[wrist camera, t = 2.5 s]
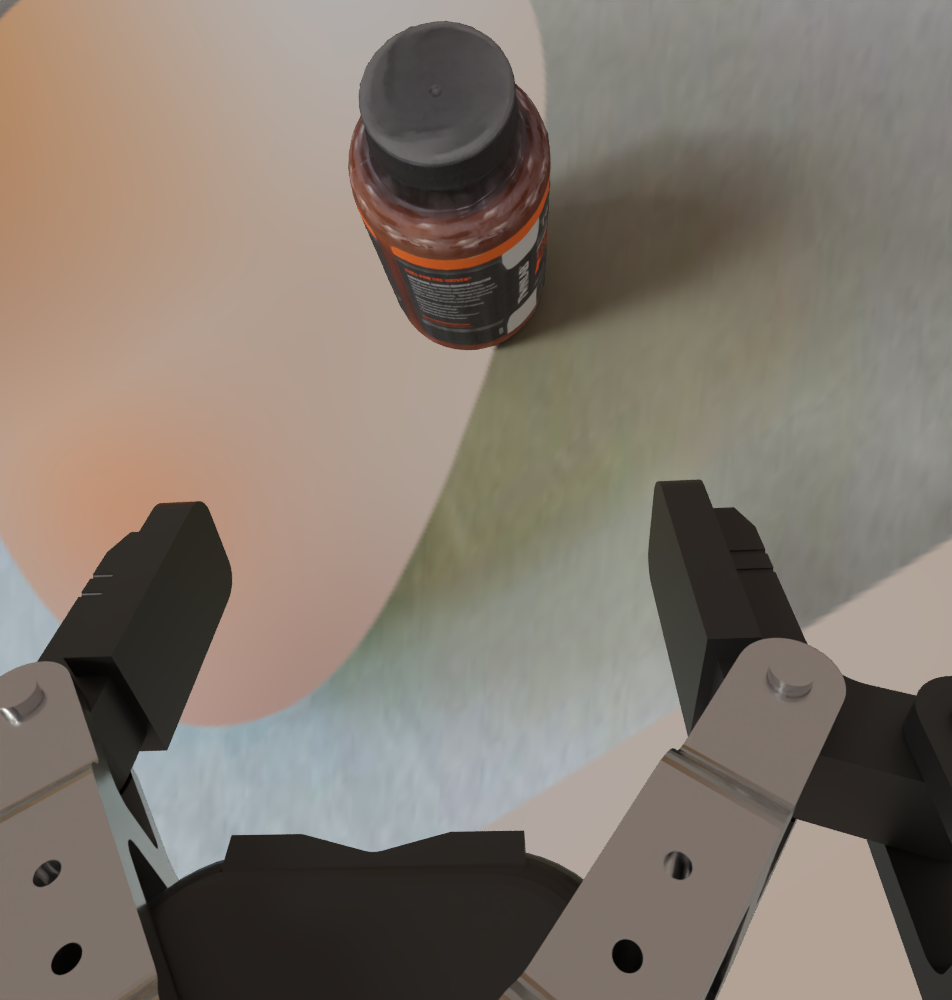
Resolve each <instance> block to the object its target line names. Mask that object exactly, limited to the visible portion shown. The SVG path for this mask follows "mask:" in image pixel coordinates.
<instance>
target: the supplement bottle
mask: <svg viewBox="0 0 952 1000" xmlns="http://www.w3.org/2000/svg"><path fill="white" fill-rule="evenodd" d="M359 108H360V113H361V116H360V119H359V121H358V123H357V125H356V127H355V130H354V133H353V136H352V140H351V145H350V150H349V166H348V167H349V177H350V182H351V186H352V191H353V196H354V199H355V202H356V205H357V207H358V210H359V212H360V214H361V216H362V219H363V222H364V224H365V227H366V229H367V231H368V233H369V236H370V238H371V240H372V242H373V245H374V247H375V249H376V251H377V254H378V256H379V258H380V261H381V263H382V265H383V268H384V270H385V273H386V274H387V277H388V280H389V282H390V284H391V286H392V288H393V290H394V293H395V295H396V297H397V299H398V302H399V304H400V306H401V308H402V309H403V311H404V312H405V314H406V316H407V317H408V319H409V321H410V322H411V323H412V324H413V325H414V326H415V328H416V329H417V330H418V331H419V332H421V333H422V334H423V335H424V336H426V337H427V338H428V339H430V340H432V341H433V342H435V343H437V344H440V345H443V346H445V347H449V348H453V349H460V350H477V349H482V348H487V347H491V346H495V345H497V344H499V343H501V342H503V341H505V340H507V339H508V338H510V337H511V336H512V335H514V334H516V333H517V332H518V331H519V330H520V329H521V328H522V327H523V326H524V325H525V324H526V323H527V322H528V320H529V319H530V317H531V316H532V315H533V313H534V311H535V309H536V307H537V305H538V303H539V300H540V297H541V293H542V288H543V285H544V278H545V260H546V243H547V225H548V210H549V189H550V147H549V140H548V133H547V131H546V128H545V126H544V123H543V121H542V119H541V117H540V114H539V112H538V111H537V109H536V107H535V105H534V104H533V102H532V101H531V99H530V98H529V97H528V96H527V94H526V93H525V92H524V91H523V90H522V89H521V88H519V87H518V86H517V85H516V84H515V81H514V75H513V72H512V68H511V66H510V63H509V61H508V60H507V58H506V56H505V54H504V53H503V51H502V50H501V48H500V47H499V46H498V45H497V44H496V43H495V42H494V41H493V40H492V39H491V38H489V37H488V36H487V35H485V34H483V33H482V32H480V31H478V30H476V29H475V28H473V27H470V26H467V25H464V24H460V23H454V22H448V21H443V22H442V21H441V22H431V23H426V24H421V25H418V26H415V27H409V28H408V29H406V30H405V31H402V32H400V33H398V34H396V35H395V36H393V37H392V38H390V39H389V40H387V42H386V43H385V44H384V45H383V46H382V47H381V48H380V49H379V50H378V51H377V52H376V53H375V54H374V56H373V57H372V59H371V60H370V62H369V63H368V65H367V67H366V69H365V72H364V75H363V78H362V80H361V83H360V90H359Z"/></svg>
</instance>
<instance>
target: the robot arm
mask: <svg viewBox="0 0 952 1000" xmlns="http://www.w3.org/2000/svg"><path fill="white" fill-rule="evenodd" d="M648 561H649V573H650V580H651V585H652V589H653V593H654V597H655V602H656V606H657V610H658V614H659V618H660V622H661V626H662V631H663V635H664V639H665V643H666V647H667V651H668V655H669V660H670V664H671V668H672V672H673V676H674V680H675V684H676V689H677V693H678V697H679V701H680V705H681V709H682V713H683V717H684V722H685V725H686V730H687V734H688V738H687V740H686V741H685V743H684V744H683V745H682V747H681V748H680V749H679V750H676V749H673V748H672V749H670V750H669V751H668V752H667V753H666V754H665V755H664V757H663V758H662V759H661V760H660V762H659V764H658V765H657V766H656V768H655V770H654V771H653V773H652V774H651V776H650V777H649V779H648V780H647V782H646V784H645V785H644V787H643V788H642V790H641V791H640V793H639V794H638V796H637V798H636V799H635V801H634V802H633V804H632V805H631V807H630V809H629V810H628V812H627V813H626V815H625V816H624V818H623V819H622V821H621V823H620V824H619V826H618V827H617V829H616V830H615V832H614V834H613V835H612V837H611V838H610V840H609V842H608V843H607V844H606V846H605V847H604V849H603V851H602V852H601V854H600V855H599V857H598V858H597V860H596V861H595V863H594V864H593V866H592V868H591V869H590V871H589V872H588V874H587V875H586V877H585V878H584V880H583V879H582V878H581V877H579V876H578V875H577V874H575V873H574V872H572V871H570V870H568V869H567V868H565V867H563V866H561V865H560V864H558V863H555V862H553V861H550V860H548V859H545V858H543V857H540V856H536V855H533V854H529V853H526V852H525V838H524V831H476V832H449V833H445V834H441V835H438V836H434V837H431V838H427V839H423V840H420V841H416V842H412V843H409V844H405V845H402V846H398V847H394V848H391V849H387V850H383V851H379V852H367V851H363V850H359V849H355V848H352V847H348V846H344V845H340V844H337V843H333V842H329V841H326V840H322V839H318V838H314V837H311V836H307V835H303V834H285V835H232V836H231V840H230V843H229V846H228V850H227V853H226V856H225V860H222V861H218V862H216V863H213V864H211V865H208V866H206V867H203V868H201V869H199V870H197V871H195V872H193V873H191V874H189V875H187V876H185V877H184V878H182V879H180V880H179V879H178V878H177V876H176V874H175V872H174V870H173V868H172V866H171V863H170V861H169V859H168V856H167V854H166V851H165V848H164V846H163V843H162V840H161V838H160V835H159V832H158V830H157V827H156V824H155V822H154V819H153V816H152V814H151V811H150V808H149V806H148V803H147V800H146V798H145V795H144V792H143V790H142V787H141V784H140V782H139V779H138V777H137V775H136V773H135V771H134V770H133V768H132V767H133V764H134V762H135V760H136V758H137V755H138V753H139V751H160V750H167V749H168V747H169V744H170V742H171V739H172V737H173V735H174V732H175V730H176V727H177V725H178V722H179V720H180V717H181V715H182V712H183V710H184V707H185V705H186V703H187V700H188V698H189V695H190V693H191V690H192V688H193V685H194V683H195V681H196V678H197V675H198V673H199V671H200V668H201V666H202V663H203V661H204V658H205V655H206V653H207V651H208V649H209V646H210V644H211V641H212V639H213V636H214V634H215V631H216V629H217V627H218V624H219V622H220V619H221V617H222V614H223V612H224V609H225V607H226V604H227V602H228V599H229V597H230V593H231V588H232V572H231V567H230V563H229V560H228V557H227V555H226V552H225V550H224V547H223V545H222V542H221V539H220V537H219V534H218V532H217V529H216V527H215V524H214V522H213V519H212V516H211V514H210V511H209V509H208V507H207V506H206V505H205V504H204V503H203V502H200V501H197V502H176V503H159V504H157V505H156V506H155V507H154V508H153V510H152V512H151V513H150V515H149V517H148V518H147V520H146V522H145V523H144V525H143V526H142V528H141V530H140V531H139V532H131V533H129V534H128V535H127V536H126V537H125V538H123V539H122V540H121V541H120V542H119V543H118V544H117V545H115V546H114V547H113V548H112V549H111V550H109V551H108V552H107V553H106V555H105V556H104V558H103V559H102V561H101V563H100V564H99V566H98V567H97V569H96V570H95V572H94V574H93V579H90V580H89V582H88V583H87V585H86V586H85V588H84V589H83V591H82V597H78V599H77V600H76V602H75V603H74V605H73V607H72V608H71V610H70V611H69V613H68V614H67V616H66V618H65V619H64V621H63V622H62V624H61V625H60V627H59V628H58V630H57V632H56V633H55V635H54V636H53V638H52V639H51V641H50V643H49V644H48V646H47V647H46V649H45V650H44V652H43V654H42V655H41V657H40V658H39V660H38V661H37V662H35V663H30V664H26V665H23V666H20V667H18V668H15V669H13V670H11V671H9V672H7V673H5V674H4V675H2V676H1V677H0V1000H716V999H717V997H718V995H719V993H720V990H721V988H722V986H723V984H724V982H725V980H726V977H727V975H728V973H729V971H730V968H731V966H732V964H733V962H734V960H735V957H736V955H737V953H738V950H739V948H740V946H741V943H742V941H743V939H744V936H745V934H746V932H747V929H748V927H749V924H750V922H751V920H752V917H753V915H754V913H755V911H756V909H757V907H758V904H759V902H760V900H761V898H762V895H763V893H764V891H765V889H766V887H767V885H768V882H769V880H770V878H771V876H772V874H773V872H774V869H775V867H776V865H777V863H778V861H779V858H780V856H781V854H782V852H783V849H784V848H785V845H786V843H787V841H788V839H789V837H790V834H791V832H792V830H793V828H794V826H795V824H796V821H797V819H799V820H802V821H806V822H809V823H813V824H816V825H819V826H823V827H827V828H830V829H833V830H837V831H840V832H843V833H847V834H851V835H854V836H858V837H861V838H864V839H867V842H868V845H869V847H870V850H871V853H872V856H873V859H874V862H875V865H876V868H877V870H878V873H879V876H880V879H881V882H882V885H883V888H884V891H885V893H886V896H887V899H888V902H889V905H890V908H891V911H892V913H893V916H894V919H895V922H896V925H897V928H898V931H899V933H900V936H901V939H902V942H903V945H904V948H905V951H906V953H907V956H908V959H909V962H910V965H911V968H912V971H913V973H914V977H915V979H916V982H917V985H918V988H919V991H920V994H921V996H922V1000H952V676H945V677H940V678H935V679H933V680H931V681H929V682H927V683H926V684H924V685H923V686H922V687H921V689H920V690H919V691H918V694H917V695H916V696H915V695H911V694H906V693H902V692H898V691H893V690H889V689H885V688H880V687H876V686H871V685H868V684H864V683H860V682H857V681H855V680H852V679H850V678H847V677H845V676H843V675H842V674H841V672H840V670H839V669H838V667H837V666H836V665H835V664H834V663H833V662H832V660H830V659H829V658H828V657H827V656H826V655H825V654H823V653H822V652H820V651H818V650H817V649H816V648H814V647H811V646H810V645H808V644H807V642H806V641H805V638H804V636H803V634H802V631H801V629H800V627H799V624H798V622H797V620H796V618H795V615H794V613H793V611H792V609H791V606H790V604H789V602H788V600H787V597H786V595H785V593H784V591H783V588H782V586H781V584H780V582H779V579H778V577H777V575H776V573H775V572H773V566H772V563H771V561H770V559H769V557H768V554H765V548H764V545H763V543H762V541H761V539H760V536H759V534H758V532H757V530H756V527H755V526H754V525H753V524H752V523H751V522H750V521H748V520H747V519H746V518H745V517H744V516H743V515H742V514H741V513H740V512H738V511H737V510H736V509H735V508H734V507H731V508H713V507H712V504H711V502H710V499H709V496H708V494H707V491H706V489H705V486H704V484H703V482H702V481H701V480H679V481H658V482H656V485H655V489H654V497H653V507H652V518H651V528H650V538H649V550H648Z"/></svg>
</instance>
